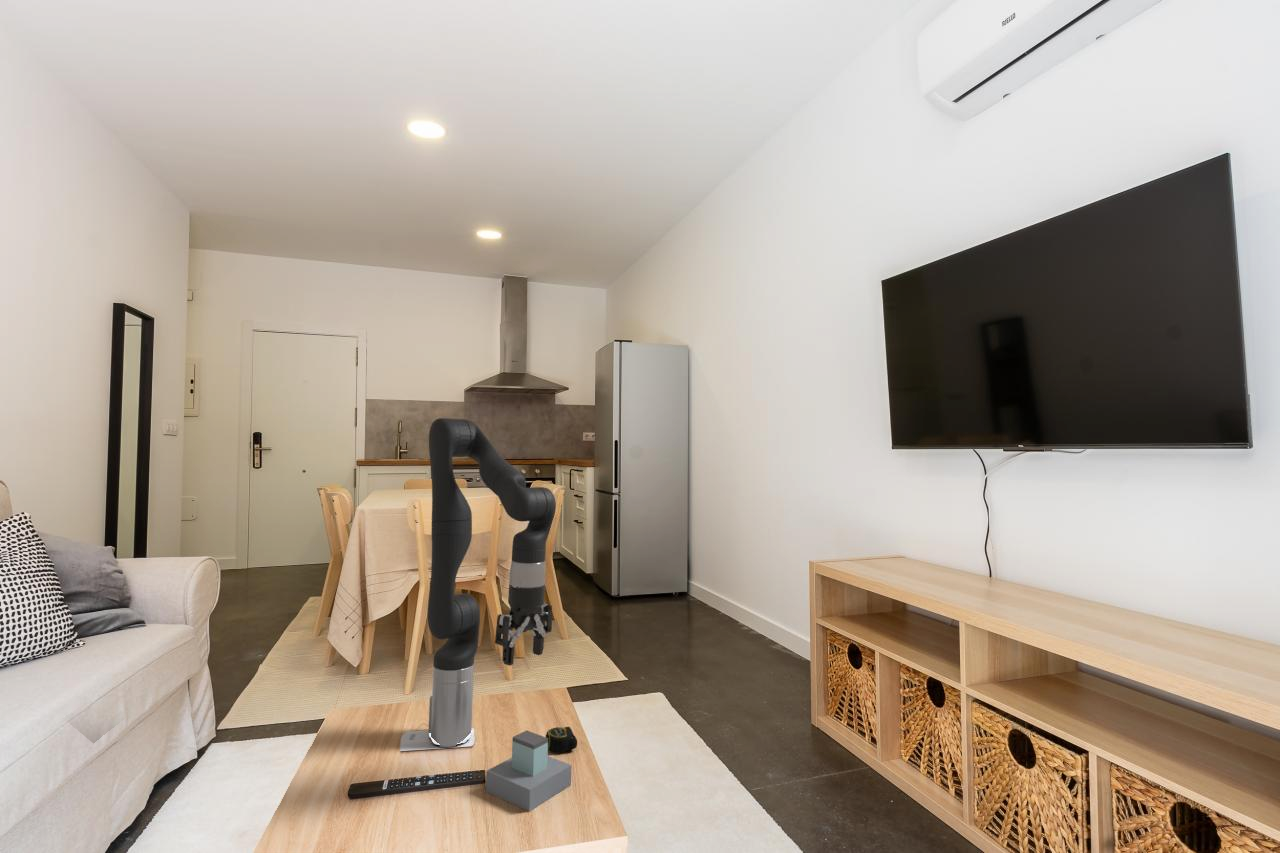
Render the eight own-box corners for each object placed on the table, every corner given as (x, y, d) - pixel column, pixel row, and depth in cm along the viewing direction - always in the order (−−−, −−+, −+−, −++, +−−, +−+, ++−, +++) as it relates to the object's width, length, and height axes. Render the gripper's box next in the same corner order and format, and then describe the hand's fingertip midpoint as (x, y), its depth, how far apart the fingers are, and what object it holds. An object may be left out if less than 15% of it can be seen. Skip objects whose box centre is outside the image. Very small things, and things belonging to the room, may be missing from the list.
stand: (485, 791, 126) (486, 770, 126) (528, 767, 136) (528, 748, 136) (529, 811, 119) (530, 789, 120) (570, 785, 129) (571, 765, 130)
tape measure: (577, 753, 143) (578, 736, 144) (547, 757, 141) (548, 740, 141) (571, 740, 150) (572, 724, 150) (542, 743, 148) (543, 727, 148)
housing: (511, 767, 128) (512, 737, 128) (525, 759, 131) (526, 730, 132) (533, 776, 125) (534, 745, 125) (547, 768, 128) (548, 738, 128)
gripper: (538, 574, 142) (534, 647, 141) (489, 584, 130) (485, 663, 130) (563, 579, 138) (559, 655, 137) (515, 590, 126) (510, 672, 125)
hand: (523, 659), depth 133 cm, fingers open, 8 cm apart
